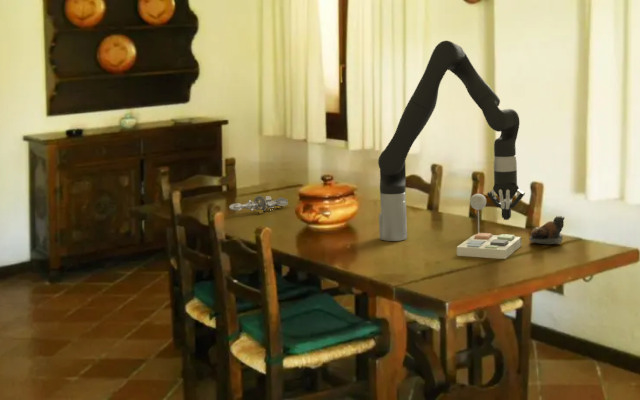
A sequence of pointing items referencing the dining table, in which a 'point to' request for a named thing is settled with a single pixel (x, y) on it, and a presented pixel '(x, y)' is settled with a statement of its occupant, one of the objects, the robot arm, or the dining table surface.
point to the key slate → (476, 242)
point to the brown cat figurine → (548, 232)
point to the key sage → (505, 237)
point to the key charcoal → (499, 242)
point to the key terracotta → (483, 236)
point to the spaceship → (260, 203)
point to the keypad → (488, 248)
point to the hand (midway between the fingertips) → (506, 219)
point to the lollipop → (478, 203)
